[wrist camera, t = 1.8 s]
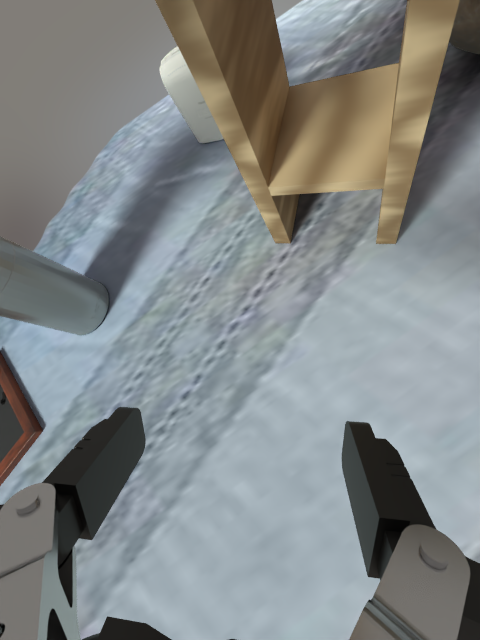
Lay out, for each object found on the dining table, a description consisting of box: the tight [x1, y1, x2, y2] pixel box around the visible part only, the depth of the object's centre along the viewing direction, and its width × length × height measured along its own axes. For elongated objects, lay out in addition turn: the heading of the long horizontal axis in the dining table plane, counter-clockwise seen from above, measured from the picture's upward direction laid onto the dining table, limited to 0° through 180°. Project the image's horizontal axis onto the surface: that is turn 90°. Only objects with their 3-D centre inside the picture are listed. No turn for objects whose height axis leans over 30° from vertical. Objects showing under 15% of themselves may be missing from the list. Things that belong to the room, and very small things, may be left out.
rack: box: [155, 0, 460, 244], centre depth 21 cm, size 14×12×34 cm
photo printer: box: [160, 46, 224, 143], centre depth 41 cm, size 10×4×12 cm, turn 81°
